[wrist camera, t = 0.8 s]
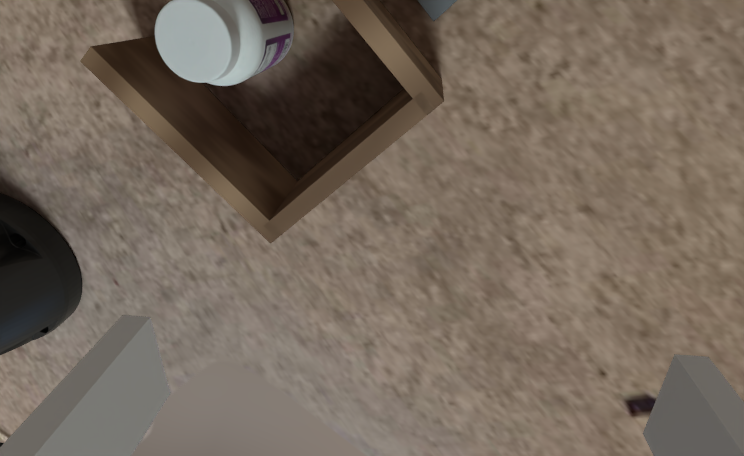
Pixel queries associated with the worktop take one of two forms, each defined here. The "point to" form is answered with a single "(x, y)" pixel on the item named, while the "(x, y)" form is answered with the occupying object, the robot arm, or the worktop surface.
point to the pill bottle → (223, 38)
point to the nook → (239, 147)
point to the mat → (436, 7)
